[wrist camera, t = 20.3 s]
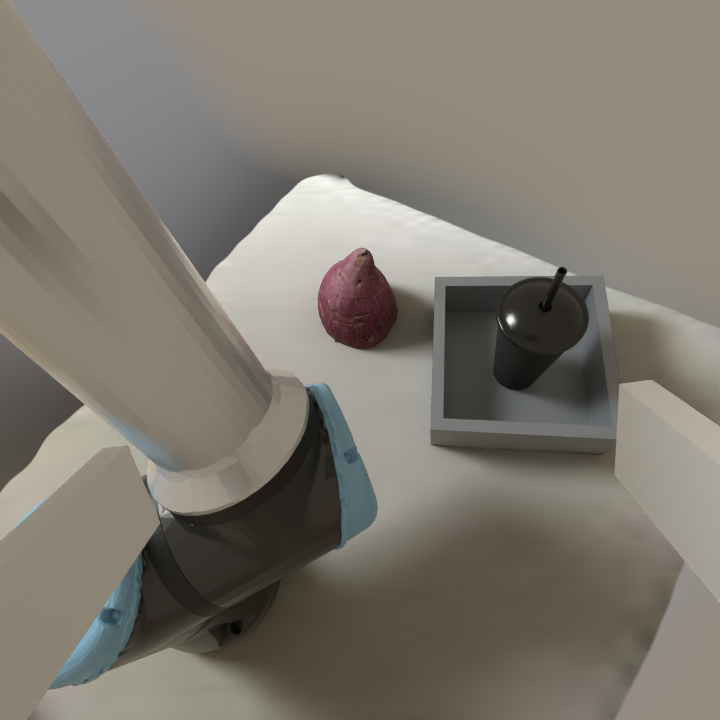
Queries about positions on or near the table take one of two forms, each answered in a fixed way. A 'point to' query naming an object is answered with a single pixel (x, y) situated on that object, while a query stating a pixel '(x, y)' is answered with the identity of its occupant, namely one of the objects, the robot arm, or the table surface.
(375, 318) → the vegetable
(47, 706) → the table surface
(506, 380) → the drinking cup
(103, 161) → the robot arm
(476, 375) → the bin
